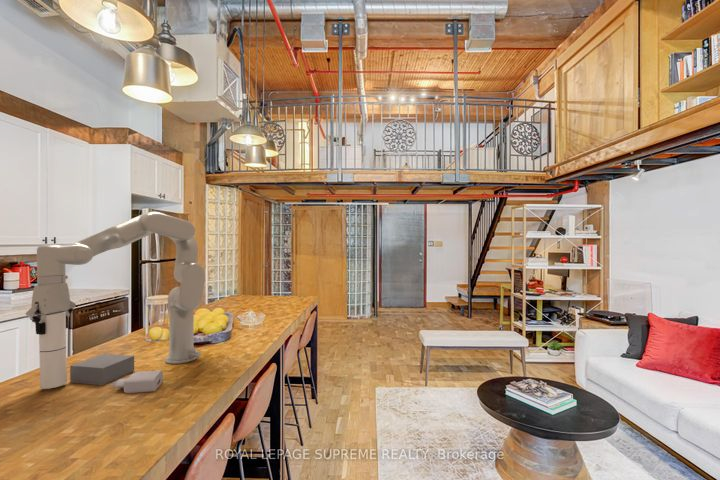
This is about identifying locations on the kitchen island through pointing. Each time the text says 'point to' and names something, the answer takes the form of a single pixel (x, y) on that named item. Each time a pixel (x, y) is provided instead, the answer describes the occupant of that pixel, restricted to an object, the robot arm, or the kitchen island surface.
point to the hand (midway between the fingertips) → (52, 330)
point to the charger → (140, 382)
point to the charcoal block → (101, 369)
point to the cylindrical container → (53, 351)
